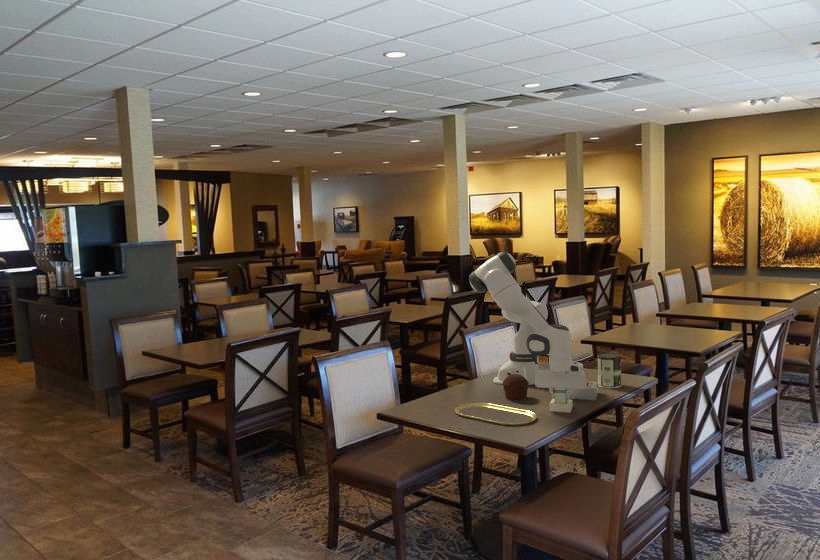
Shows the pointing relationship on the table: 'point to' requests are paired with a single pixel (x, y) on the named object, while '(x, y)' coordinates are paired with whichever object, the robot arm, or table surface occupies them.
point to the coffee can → (609, 370)
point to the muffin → (515, 387)
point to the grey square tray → (561, 406)
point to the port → (585, 392)
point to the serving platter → (496, 408)
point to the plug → (560, 395)
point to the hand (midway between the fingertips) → (561, 399)
